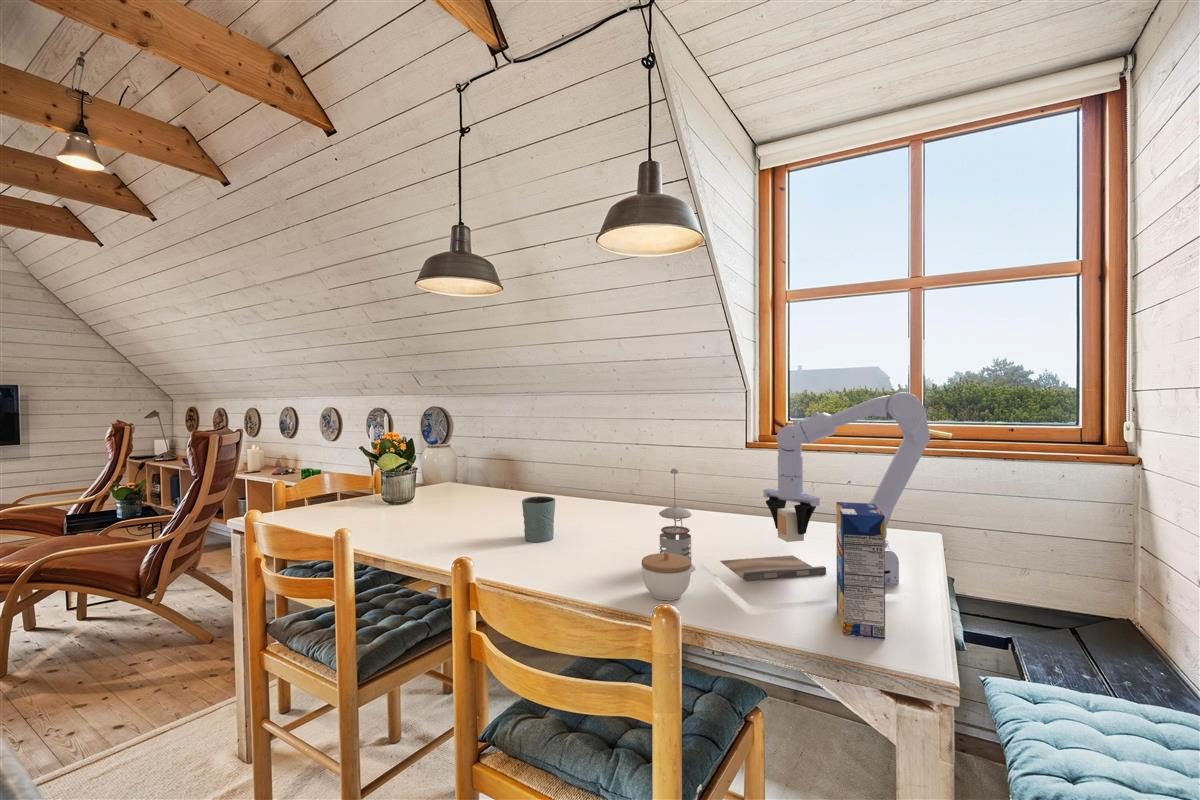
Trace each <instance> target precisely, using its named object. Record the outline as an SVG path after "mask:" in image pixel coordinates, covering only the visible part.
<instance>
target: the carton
mask: <svg viewBox="0 0 1200 800" xmlns="http://www.w3.org/2000/svg"><path fill="white" fill-rule="evenodd" d="M777 511H778V514H777V524H778V529H777V538H778V539H780V540H783V541H784V542H786V543H789V542H790V543H791V542H804V541H805V534H802V535H800V534H798V524H797V515H796V511H795V508H794V507H785V508H781V509H777Z"/></svg>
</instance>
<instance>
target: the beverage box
mask: <svg viewBox="0 0 1200 800" xmlns="http://www.w3.org/2000/svg"><path fill="white" fill-rule="evenodd" d="M835 504H836V506H835V507H836V508H835V509H836V513H835V515H836V516H835V517H836V521H835V522H836V523H835V524H836V525H835V527H836V531H835V532H836V612H837V613H836V614H837V617H838V621H839V624H840V628H841V630H842V631H841V632H842V635H843V634H847V635H846V636H849V635H855V636H854V637H858V636H863V637H862V638H867V637H869V638H868V639H876V638H877V639H876V640H886V585H885V540H886V539H885V516H884V515H883V514H882V512H881V511H880V510H879V509H878V508H877V506H876V505H875V504H870V503H869V502H868V503H865V502H843V501H836V503H835ZM870 637H871V638H870Z"/></svg>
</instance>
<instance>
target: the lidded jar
mask: <svg viewBox="0 0 1200 800" xmlns="http://www.w3.org/2000/svg"><path fill="white" fill-rule="evenodd" d="M691 564H692V559H691V560H690V559H689V558H688V557H686V556H683V555H679V554H672V553H668V552H664V553H660V552H659V553H651V554H647V555H646V556H644V557H643V558H642V559H641V571H642V579H643V582H644V585H645V587H646V589H647V591H648V592H649V593H651V595H652V597H653V598H654V599H657V600H659V601H663V600H668V601H667V602H669V601H671V600H672V601H676V600H675V599H677V600H679V599H681V597H682V595H683V594H684V593H685V592H686V591H687V590H688V587H689V586H690V582H691V576H692V572H691ZM678 598H679V599H678ZM672 601H671V602H672Z"/></svg>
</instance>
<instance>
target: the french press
mask: <svg viewBox="0 0 1200 800" xmlns="http://www.w3.org/2000/svg"><path fill="white" fill-rule="evenodd" d="M670 474H673V481H674V482H673V483H674V484H673V490H674V491H673V492H674V495H673V496H674V499H673V500H674V504H673V505H674V506H669V507H665V508H664V509H663V510H661V511H660V512H659V513H658V515H659V516H660V517H662V518H665V519H670V520H673V521H674V525H667V526H663V527H662V528H660V531H661V532H662V533H660V534H659V553H664V552H668V553H672V554H679V555H683V556H686V557H688V558H689V559H690V560H691V561H692V535H691V534H690V533H689V532H690V531H691V530H690V528H688V527H687V526H683V519H687V518H690V517H691V516H692V515H693V514H692V512H690V511H689V510H688V509H685V508H682V507H680V506H676V474H679V470H678V468H671V470H670ZM677 522H681V523H680V524H681V525H677ZM677 536H678V539H677ZM694 571H696V567H695V565H694V564H692V563H691V573H694Z"/></svg>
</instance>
